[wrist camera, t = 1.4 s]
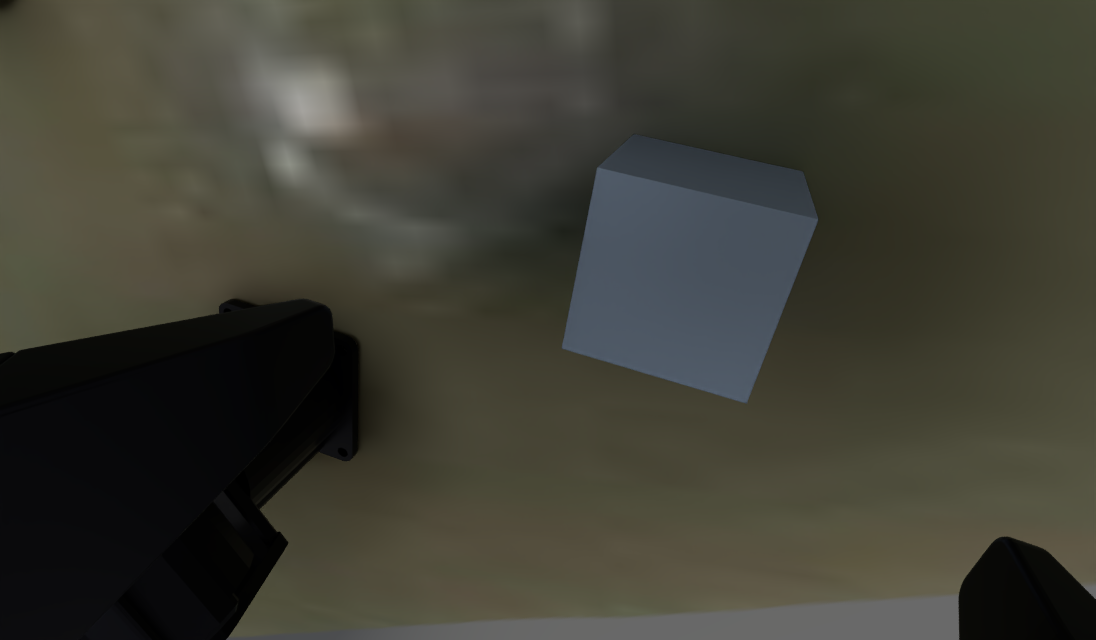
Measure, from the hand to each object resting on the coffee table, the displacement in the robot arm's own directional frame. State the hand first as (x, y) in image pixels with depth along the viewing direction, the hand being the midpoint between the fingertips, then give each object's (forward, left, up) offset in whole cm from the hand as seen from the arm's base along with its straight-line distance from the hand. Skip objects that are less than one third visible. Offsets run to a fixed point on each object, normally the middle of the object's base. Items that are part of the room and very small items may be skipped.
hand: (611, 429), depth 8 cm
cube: (-1, 0, -12) cm, 12 cm away
